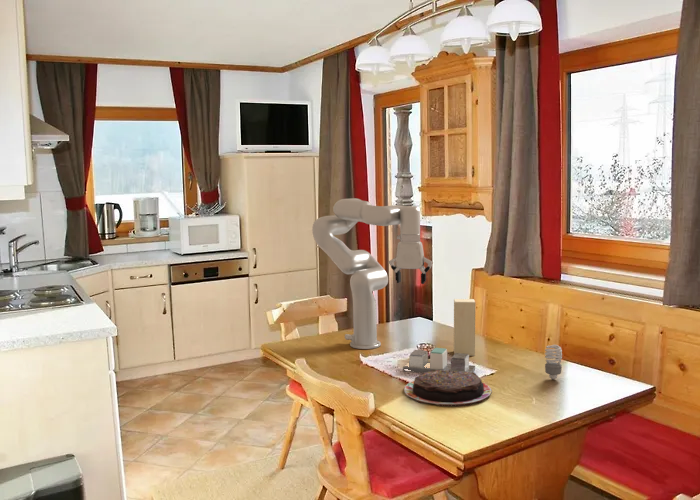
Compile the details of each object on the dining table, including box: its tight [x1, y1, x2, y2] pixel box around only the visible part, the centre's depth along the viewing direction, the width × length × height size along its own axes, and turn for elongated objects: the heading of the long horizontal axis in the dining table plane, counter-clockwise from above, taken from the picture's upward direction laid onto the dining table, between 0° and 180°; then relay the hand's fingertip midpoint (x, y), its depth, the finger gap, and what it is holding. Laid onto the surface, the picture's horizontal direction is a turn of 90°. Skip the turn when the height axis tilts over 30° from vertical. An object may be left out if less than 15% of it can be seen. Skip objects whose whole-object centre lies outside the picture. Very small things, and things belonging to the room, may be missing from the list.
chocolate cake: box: [403, 369, 493, 407], centre depth 213 cm, size 28×28×7 cm
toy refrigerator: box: [453, 298, 476, 357], centre depth 257 cm, size 8×7×21 cm
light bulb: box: [544, 344, 563, 381], centre depth 223 cm, size 6×6×12 cm
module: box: [429, 347, 448, 369], centre depth 237 cm, size 4×6×6 cm
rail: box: [402, 349, 476, 374], centre depth 237 cm, size 24×9×6 cm, turn 69°
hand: (410, 283), depth 255 cm, fingers open, 9 cm apart
